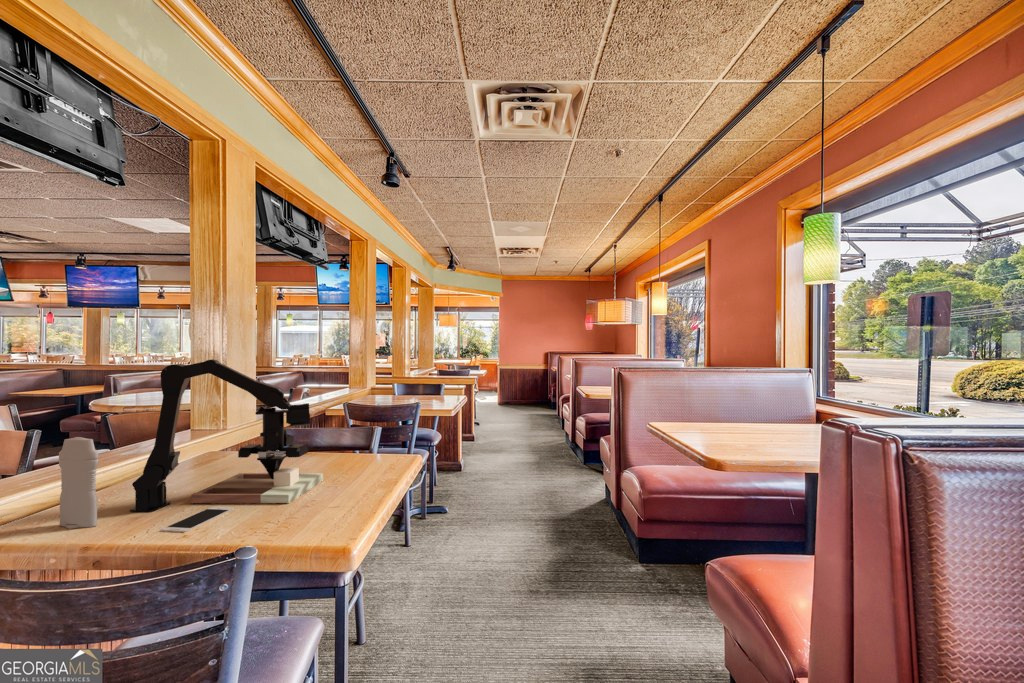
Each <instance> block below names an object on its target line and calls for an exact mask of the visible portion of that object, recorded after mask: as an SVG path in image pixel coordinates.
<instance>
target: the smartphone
mask: <svg viewBox="0 0 1024 683" xmlns="http://www.w3.org/2000/svg"><path fill="white" fill-rule="evenodd" d="M234 508H235V509H236V507H233V506H210V507H208V508H205V509H204V510H201V511H199V512H196V513H194V514H191V515H189V516H187V517H185V518H183V519H181V520H179V521H177V522H173V523H172V524H170V525H167V526H164V527H163V528H161V529H160V532H161V531H172V532H171V533H178V532H187V533H189V532H190V530H191V529H193V528H195V527H197V526H199V525H201V524H203V523H205V522H208V521H210V520H212V519H214V518H216V517H218V516H220V515H222V514H224V513H226V512H228V511H230V510H232V509H234ZM235 509H234V510H235ZM230 512H231V511H230ZM228 513H229V512H228ZM226 514H227V513H226ZM224 515H225V514H224ZM222 516H223V515H222ZM220 517H221V516H220ZM218 518H219V517H218ZM216 519H217V518H216ZM214 520H215V519H214ZM212 521H213V520H212ZM210 522H211V521H210ZM208 523H209V522H208ZM201 526H202V525H201ZM199 527H200V526H199ZM197 528H198V527H197ZM195 529H196V528H195ZM193 530H194V529H193ZM188 531H189V532H188ZM191 531H192V530H191Z"/></svg>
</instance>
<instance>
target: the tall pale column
mask: <svg viewBox="0 0 1024 683" xmlns="http://www.w3.org/2000/svg"><path fill="white" fill-rule="evenodd" d="M63 440H64V441H63V445H62V448H61V450H60V451H59V452H58V466H59V468H60V469H61V470H60V475H61V476H60V477H61V480H60V481H61V483H60V484H61V488H60V489H61V492H60V495H59V527H60V528H66V529H69V530H71V529H73V530H74V529H83V528H84V529H87V528H95V527H97V526H98V496H97V492H96V488H97V487H96V481H97V480H96V477H97V474H96V473H97V468H98V466H99V451H98V450H97V449H96V447H95V443H94V439H93V438H87V437H86V438H85V437H81V436H75V437H71V438H66V439H63Z"/></svg>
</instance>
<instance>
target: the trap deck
mask: <svg viewBox="0 0 1024 683" xmlns="http://www.w3.org/2000/svg"><path fill="white" fill-rule="evenodd" d="M321 481H322V482H323V481H324V473H322V472H316V473H315V472H311V473H310V472H309V473H308V472H299V481H298V482H296V483H294V484H293V485H291V486H274V479H271V477H270V476H269V474H268V472H267V473H266V472H258V473H256V472H255V473H254V472H253V473H251V472H250V473H249V472H248V473H246V472H245V473H243V472H241V473H237V474H235V475H232V476H231V477H228V478H226V479H224V480H222V481H219V482H217V483H215V484H213V485H210V486H209V487H206V488H203V489H201V490H198V491H196V492H194V493H193V494H191V495H190V504H191V503H289V504H291V503H292V502H293V500H294V501H295V500H297V499H298V498H300V497H301V496H302V494H303V493H304V494H306V493H307V492H309V491H310V490H311V488H312V487H313V488H314V486H315V485H316V486H318V485H319V484H321V483H322V482H321ZM320 482H321V483H320ZM318 483H319V484H318ZM317 484H318V485H317ZM316 486H315V487H316ZM313 488H312V489H313ZM309 489H310V490H309ZM308 490H309V491H308ZM306 491H307V492H306ZM305 492H306V493H305ZM304 494H303V495H304ZM300 495H301V496H300ZM299 496H300V497H299ZM296 498H297V499H296ZM291 501H292V502H291ZM290 502H291V503H290Z"/></svg>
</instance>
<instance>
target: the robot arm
mask: <svg viewBox="0 0 1024 683" xmlns="http://www.w3.org/2000/svg"><path fill="white" fill-rule="evenodd" d="M206 374H207V375H208V374H209V375H210V374H211V376H212V375H213V376H214V377H216V378H218V379H220V380H222V381H224V382H227V383H229V384H232V385H234V386H235V387H238V389H239V388H240V389H242V390H244V391H246V392H247V393H249V394H251V395H252V396H253V397H254V398H255V399H257V400H258V401H260V402H261V403H262V404H264V405H265V406H268V407H265V406H263V405H261V406H260V407H259V409H258V410H256V411H255V415H256V416H257V415H262V432H259V437H262V445H261V444H258V443H257V444H255V443H254V444H251V443H249V444H247V445H244V446H242V447H240V448H239V449H238V451H237V458H241V459H242V458H249V457H250V456H251V455H252V454H253V455H258V457H257V458H256V461H259V462H260V463H261V464H262V466H263V467H264V468H265V471H266V472H267V473H268V474H269V476H270V477H271V479H274V472H276V471H278V470H280V469H281V465H282V463H283V461H284V459H285V458H300V457H302V456H304V455H306V454H308V453H309V452H308V450H309V446H307V444H306V443H305V444H304V443H302V444H301V443H298V444H297V443H295V442H294V441H295V435H292V434H288V432H287V429H286V428H285V423H286V424H288V425H290V427H301V426H310V425H311V412H310V403H307V402H306V403H302V404H291V403H290V401H288V400H287V398H286V397H285V392H284V391H283V389H282V388H281V387H279V386H277V385H273V384H270V383H266V382H263V381H259V380H255V379H254V378H252V377H250V376H248V375H246V374H244V373H241V372H239V371H238V370H236V369H234V368H232V367H229V366H227V365H225V364H223V363H222V362H220V361H218V359H215V358H213V359H207V360H205V361H201V362H196V363H192V364H187V365H186V364H184V363H176V364H175V363H174V364H169V365H166V366H165V367H164V368H163V369H162V370H161V372H160V387H161V392H162V402H161V407H160V412H159V418H158V424H157V429H156V436H155V439H154V440H155V441H154V446H153V449H152V451H151V452H150V454H149V456H148V458H147V461H146V462H145V466H144V468H143V470H142V474H141V475H140V476H139V477H137V479H135V480H134V481H133V482H132V484H131V485H132V487H133V489H134V491H135V494H134V495H135V501H134V504H135V505H134V507H133V508H130V509H129V512H154V511H156V510H159V509H161V508H163V507H166V506H168V505H170V504H171V503H172V501H168V500H167V486H166V485H167V484H166V480H167V477H168V476H169V475H170V474H172V472H174V470H175V469H176V467H178V466H179V457H180V455H181V450H179V451H175V447H174V444H175V436H176V432H177V425H178V420H179V419H178V418H179V415H180V409H181V402H182V397H183V396H184V395H183V394H184V392H185V391H186V389H187V387H188V384H189V382H190V380H191V378H194V377H200V376H202V375H206ZM277 408H278V409H277ZM285 421H286V422H285Z"/></svg>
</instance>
